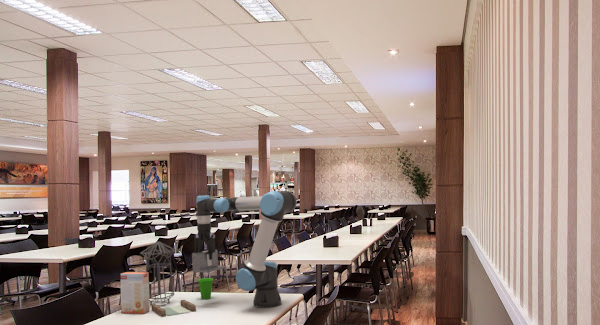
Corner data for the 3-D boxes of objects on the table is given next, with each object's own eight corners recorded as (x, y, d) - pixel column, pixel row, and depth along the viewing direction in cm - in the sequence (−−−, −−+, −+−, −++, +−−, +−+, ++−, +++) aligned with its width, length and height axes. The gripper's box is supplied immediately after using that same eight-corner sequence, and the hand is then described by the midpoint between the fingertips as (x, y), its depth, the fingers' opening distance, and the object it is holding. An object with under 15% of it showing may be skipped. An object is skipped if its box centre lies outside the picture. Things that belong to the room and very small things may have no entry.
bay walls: (195, 311, 268) (195, 305, 268) (161, 316, 258) (161, 310, 259) (184, 305, 283) (184, 299, 283) (151, 310, 274) (151, 304, 274)
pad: (190, 312, 266) (190, 311, 266) (167, 315, 260) (167, 315, 260) (178, 306, 282) (178, 305, 282) (157, 309, 275) (157, 308, 275)
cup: (210, 300, 293) (210, 280, 294) (195, 300, 295) (195, 280, 296) (216, 296, 302) (215, 278, 303) (201, 296, 304) (201, 278, 304)
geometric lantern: (165, 307, 278) (163, 243, 280) (139, 307, 283) (138, 243, 284) (179, 301, 294) (177, 240, 295) (154, 300, 298) (153, 240, 299)
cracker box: (150, 311, 271) (149, 271, 272) (143, 314, 266) (142, 273, 267) (128, 310, 276) (127, 271, 277) (120, 313, 270) (119, 273, 271)
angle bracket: (210, 267, 291) (210, 249, 292) (225, 267, 287) (224, 249, 287) (192, 272, 277) (192, 253, 278) (207, 272, 273) (206, 253, 273)
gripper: (186, 223, 285) (188, 266, 284) (213, 223, 277) (214, 267, 276) (195, 222, 292) (196, 264, 291) (221, 222, 284) (222, 265, 282)
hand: (205, 265), depth 283 cm, fingers closed on angle bracket, 5 cm apart
